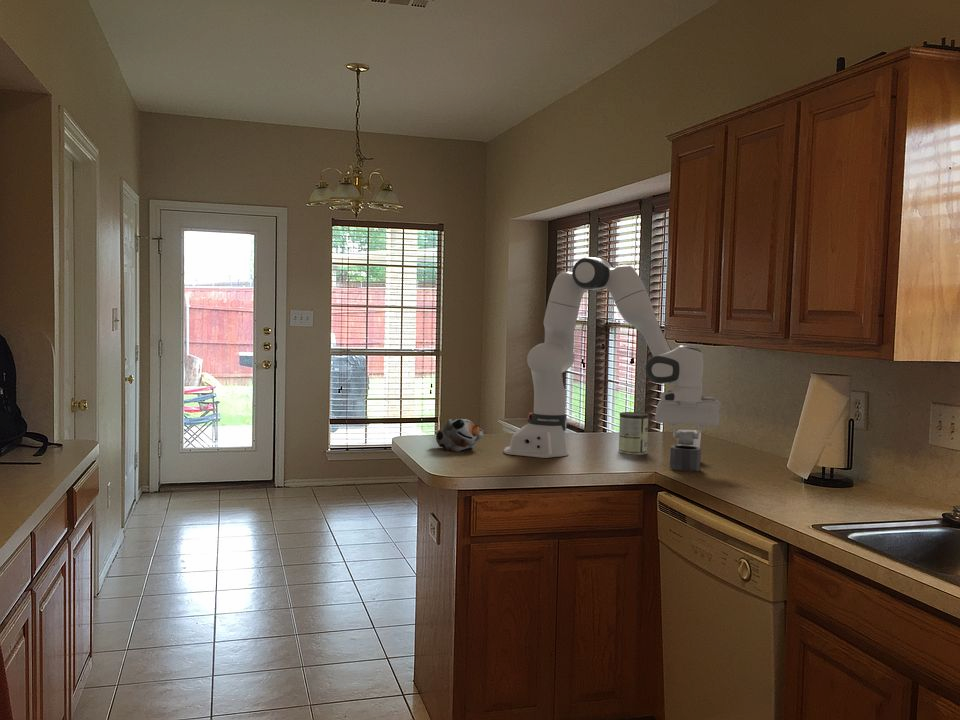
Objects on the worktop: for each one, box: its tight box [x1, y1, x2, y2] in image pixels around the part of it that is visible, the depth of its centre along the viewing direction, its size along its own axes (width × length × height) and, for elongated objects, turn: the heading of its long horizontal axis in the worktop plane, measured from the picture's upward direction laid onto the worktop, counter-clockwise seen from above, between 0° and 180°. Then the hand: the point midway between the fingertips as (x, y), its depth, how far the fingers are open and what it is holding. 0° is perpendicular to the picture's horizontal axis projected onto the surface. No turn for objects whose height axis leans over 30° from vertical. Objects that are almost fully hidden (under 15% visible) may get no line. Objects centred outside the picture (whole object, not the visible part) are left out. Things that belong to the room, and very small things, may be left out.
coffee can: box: [618, 411, 650, 456], centre depth 302 cm, size 10×10×14 cm
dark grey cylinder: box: [669, 444, 702, 472], centre depth 273 cm, size 9×9×7 cm
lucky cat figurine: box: [435, 418, 485, 453], centre depth 296 cm, size 15×12×14 cm
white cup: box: [677, 429, 702, 448], centre depth 290 cm, size 8×8×10 cm
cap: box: [677, 429, 694, 445], centre depth 272 cm, size 5×5×4 cm
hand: (685, 438), depth 272 cm, fingers open, 5 cm apart
